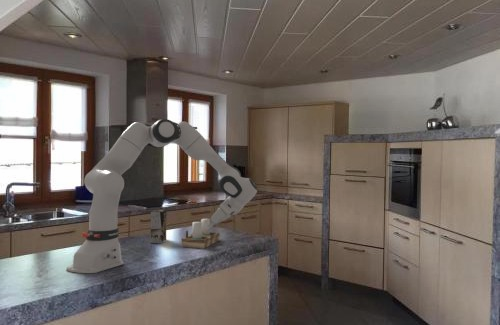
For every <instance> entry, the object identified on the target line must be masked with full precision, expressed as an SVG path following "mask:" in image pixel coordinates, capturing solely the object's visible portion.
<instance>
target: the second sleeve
mask: <svg viewBox="0 0 500 325" xmlns="http://www.w3.org/2000/svg"><path fill="white" fill-rule="evenodd" d="M210 219H211V218H202V219H200V222H202V235H210V232H211V228H210V227H209V226H208V225H209V224H210V223H211V220H210Z"/></svg>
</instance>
